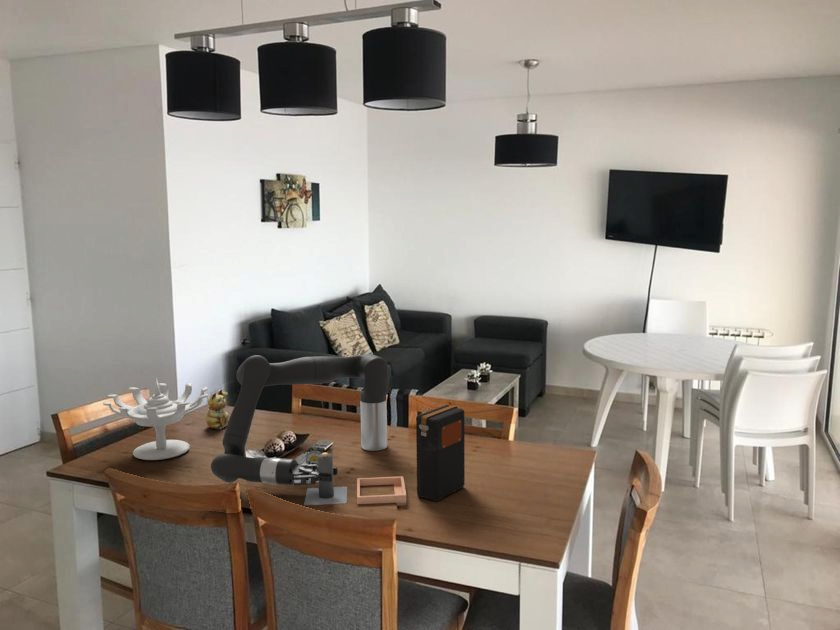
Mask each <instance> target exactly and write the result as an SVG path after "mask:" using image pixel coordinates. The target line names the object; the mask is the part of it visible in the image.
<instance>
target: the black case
mask: <svg viewBox="0 0 840 630" xmlns="http://www.w3.org/2000/svg"><path fill="white" fill-rule="evenodd" d="M415 421H416V422H415V423H416V424H415V427H416V428H415V432H416V435H415V436H416V437H415V439H416V496H417V497H418V498H424V499H428V500H430V501H433V502H438V501H440V500H442V499H443V498H445V497H447V496H449V495H450V494H452V493H455V492H457V491H458V490H461V488H464V487H465V483H466V482H465V474H466V473H465V465H466V464H465V462H466V461H465V458H466V457H465V454H466V453H465V410H464V409H463V408H459V407H458V406H456V405H449V404H446V405H442V406H439V407H437V408H434V409H431V410H428V411H426V412H424V413H421V414H418V415H416V419H415Z"/></svg>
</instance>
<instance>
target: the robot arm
mask: <svg viewBox="0 0 840 630" xmlns="http://www.w3.org/2000/svg"><path fill="white" fill-rule="evenodd" d="M389 373H390V372H389V365H388V363H387V360H385V359H384V358H383V357H380V356H379V355H375V354H374V353H373V354H372V353H365V354H358V355H352V356H351V355H350V356H327V355H326V356H325V355H324V356H318V355H317V356H303V357H298V358H294V359H290V360H287V361H283V362H273V363H271V362H269V361H268V359H266V357H264V356H262V355H259V354H258V355H256V354H255V355H251V356H249V357H247V358H246V359H245V360H244V361H243V362H242V363H240V365H239V367H238V368H237V370H236V376H235V377H236V380H237V382H238V383H239V384H240V385H241V386H240V389H239V394H238V397H237V400H236V402H235V404H234V407H233V408H232V410H231V414H229V415H230V416H229V418H228V419H229V421H228V423H227V427H225V431H224V433H223V438H222V446H223V448H224V453H222V454H218V455H217V456H215V457H214V458H213V459H212V461H211V462H210V463H211V464H210V469H211V472H212V474H213V475H214V476H215V477H217V478H219V480H221V481H222V482H225V483H228V484H229V483H234V482H236V481H237V480H238V479H241V480H245V481H247V482H250V483H264V484H270V485H283V486H284V485H286V486H309V485H311V486H312V485H315V484H316V483H318V482H319V481H326V482H331V481H332V480H334V476H337V475H338V474H339V473H338V472H339V470H338V467H337V466H335V467H334V466H333V475H332V474H330V473H320V474H319V473H318V462H316V461H308V464H306V463H302V464H298V462H297V460H296V459H295V458H284V457H283V458H280V457H269V458H268V457H266V458H265V457H248V456H246V453H245V452H246V445H247V441H248V438H249V434H250V431H251V427H252V423H253V419H254V415H255V411H256V408H257V405H258V403H259V402H258V401H259V399H260V397H261V394H262V391H263V389H264V387H265V388H266V387H270V386H271V387H272V386H278V385H318V384H320V385H321V384H326V383H327V384H328V383H330V382H333V381H337V380H339V379H343V378H355V379H357V378H358V379H363V380H364V389H363V390H362V391H361V392H360V394H359V398H360V399H359V401H360V438H361V439H360V440H361V443H360V444H361V446H360V447H361V448H362V449H363V450H365V451H372V452H374V451H381V450H385V449H386V448H388V417H387V416H388V410H387V396H388V393H389V384H390V383H389V381H390V380H389V379H390V377H389V376H390V375H389ZM313 470H314V471H313Z"/></svg>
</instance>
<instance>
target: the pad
mask: <svg viewBox="0 0 840 630" xmlns="http://www.w3.org/2000/svg"><path fill="white" fill-rule="evenodd" d="M347 503H348V486H334V496H333V497H331V498H327V499H323V498H320V497H319V487H309V488H308V487H307V488H306V493H305V499H304V504H303V506H316V505H317V506H318V505H335V504H337V505H338V504H347Z"/></svg>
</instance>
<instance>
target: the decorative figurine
mask: <svg viewBox="0 0 840 630" xmlns="http://www.w3.org/2000/svg"><path fill="white" fill-rule="evenodd" d="M228 395H229V394H228V392H227V391H223V389H218V390H217V391H216V392H213V393H212V394H211V395H210V396H209V397H208V400H207V405H208V409H207V412H206V415H205V422H206V424H207V426H208V427H209V428H210V429H213V428H214V429H216V430H219V429H220V430H223V429H225V428H226V426H227V423H228V421H229V418H230V416H229V415H230V414H229V413H228V412H227V411H225V410H224V409H225V408H226V406H227V400H226V398H225V397H227V396H228ZM224 427H225V428H224ZM222 428H223V429H222Z"/></svg>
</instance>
